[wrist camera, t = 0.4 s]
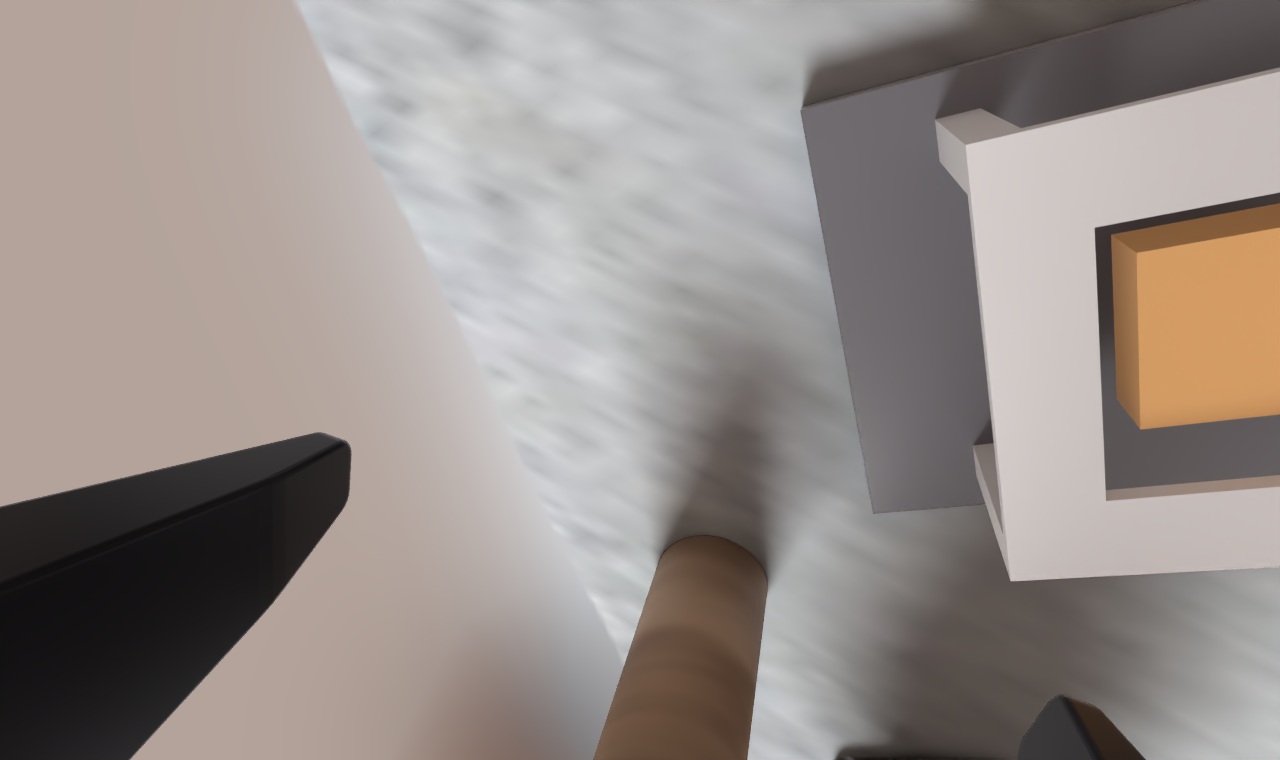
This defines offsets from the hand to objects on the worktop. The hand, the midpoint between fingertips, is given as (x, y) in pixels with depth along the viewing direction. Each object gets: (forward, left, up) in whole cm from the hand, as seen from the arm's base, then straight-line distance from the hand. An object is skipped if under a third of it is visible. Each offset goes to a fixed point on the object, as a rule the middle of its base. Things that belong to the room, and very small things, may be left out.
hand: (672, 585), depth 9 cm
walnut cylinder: (-11, +4, -14) cm, 18 cm away
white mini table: (-2, -10, -14) cm, 17 cm away
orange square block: (-2, -10, -11) cm, 14 cm away
